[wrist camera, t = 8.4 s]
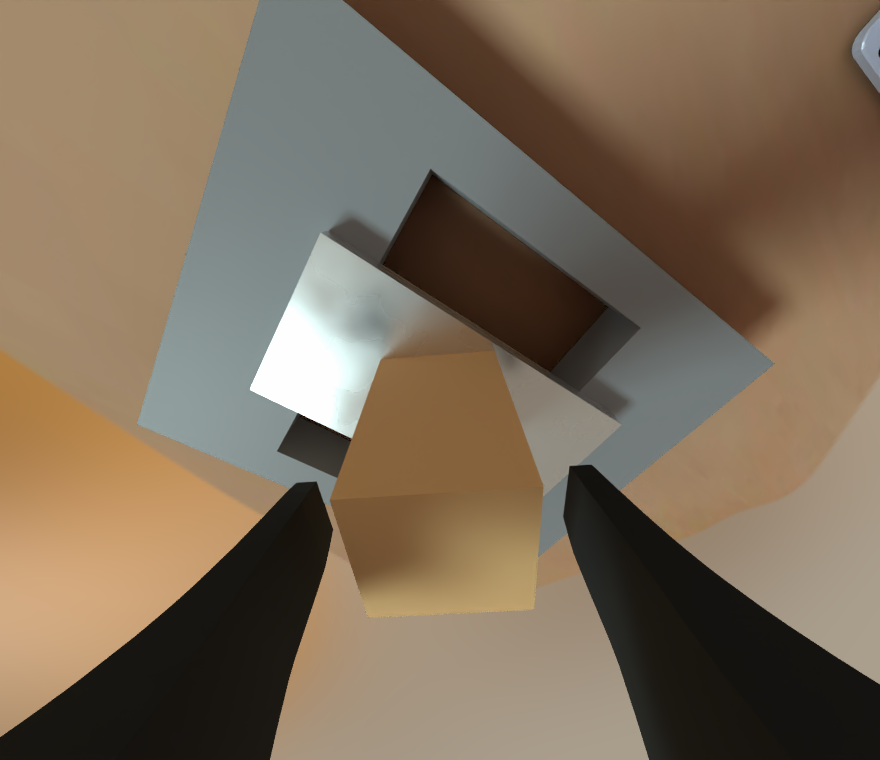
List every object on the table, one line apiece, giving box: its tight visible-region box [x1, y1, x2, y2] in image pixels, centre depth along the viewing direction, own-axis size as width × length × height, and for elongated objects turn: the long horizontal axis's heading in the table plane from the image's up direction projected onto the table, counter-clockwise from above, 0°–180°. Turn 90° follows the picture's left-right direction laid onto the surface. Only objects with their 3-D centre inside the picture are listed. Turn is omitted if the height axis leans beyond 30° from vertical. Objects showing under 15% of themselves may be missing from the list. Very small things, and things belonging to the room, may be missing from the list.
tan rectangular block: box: [330, 351, 544, 618], centre depth 11 cm, size 4×4×7 cm
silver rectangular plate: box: [250, 230, 622, 496], centre depth 15 cm, size 14×7×1 cm, turn 57°
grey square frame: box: [137, 0, 774, 557], centre depth 17 cm, size 22×18×3 cm
